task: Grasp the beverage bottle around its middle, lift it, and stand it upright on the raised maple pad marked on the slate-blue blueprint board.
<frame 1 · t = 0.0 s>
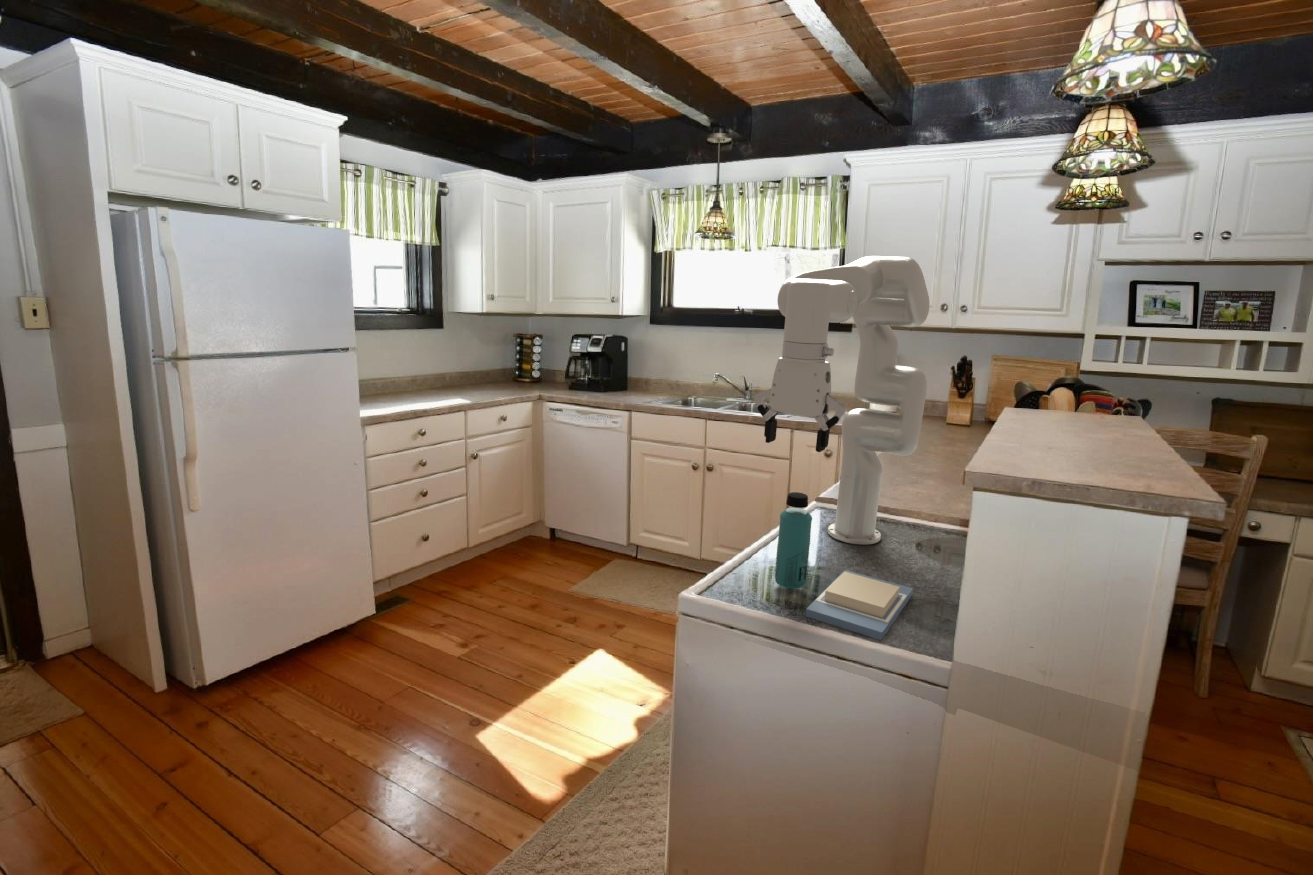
hand: (794, 445, 126), 31 cm above the table, tool pointing down, fingers open, 9 cm apart
blueprint board: (860, 605, 134), on the table
beverage bottle: (789, 589, 140), on the table
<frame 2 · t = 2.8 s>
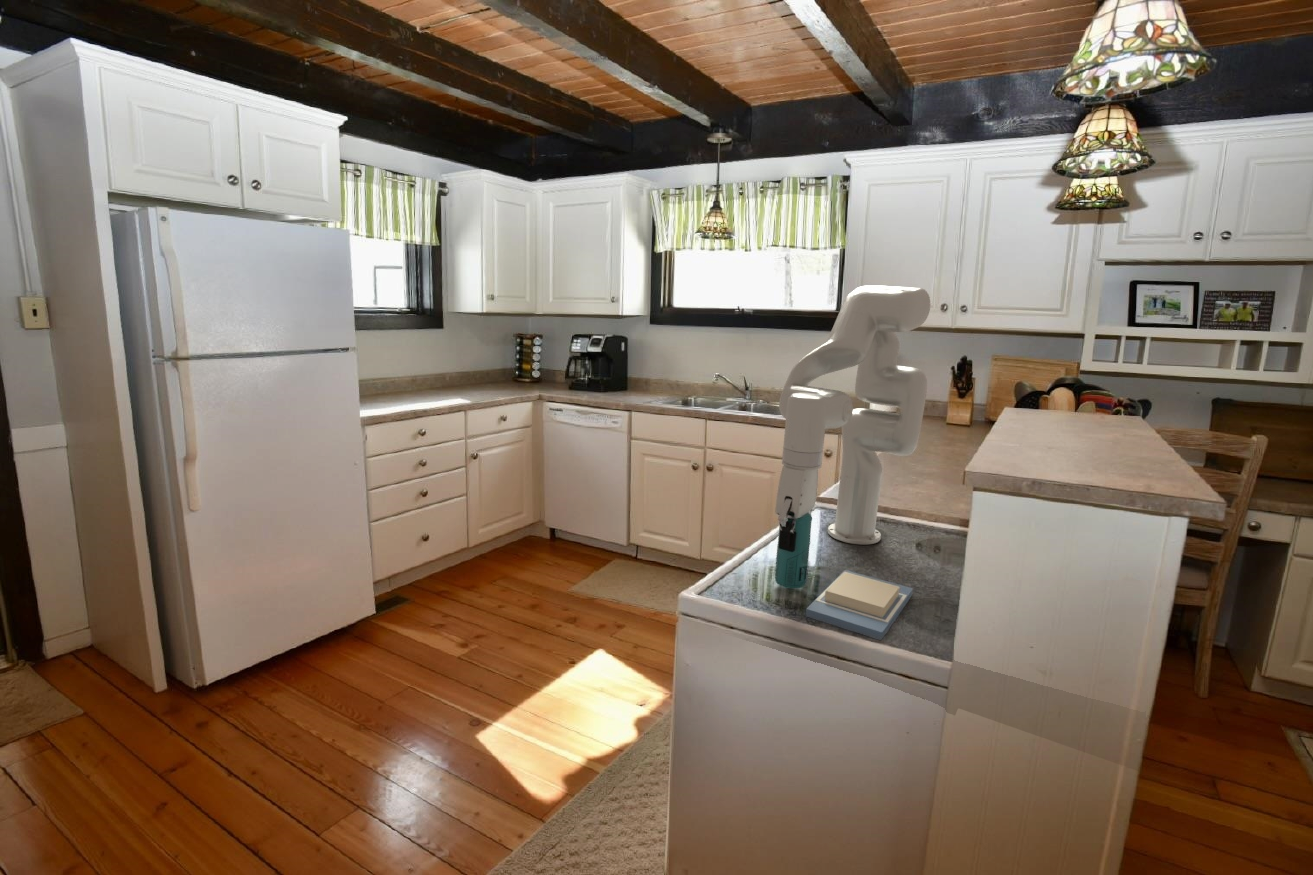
hand: (793, 543, 137), 10 cm above the table, tool pointing down, fingers closed on beverage bottle, 6 cm apart
beverage bottle: (789, 589, 140), on the table, touching gripper
when the fingers open (14 cm above the table, at t = 8.8 s): beverage bottle drops 1 cm, resting on blueprint board.
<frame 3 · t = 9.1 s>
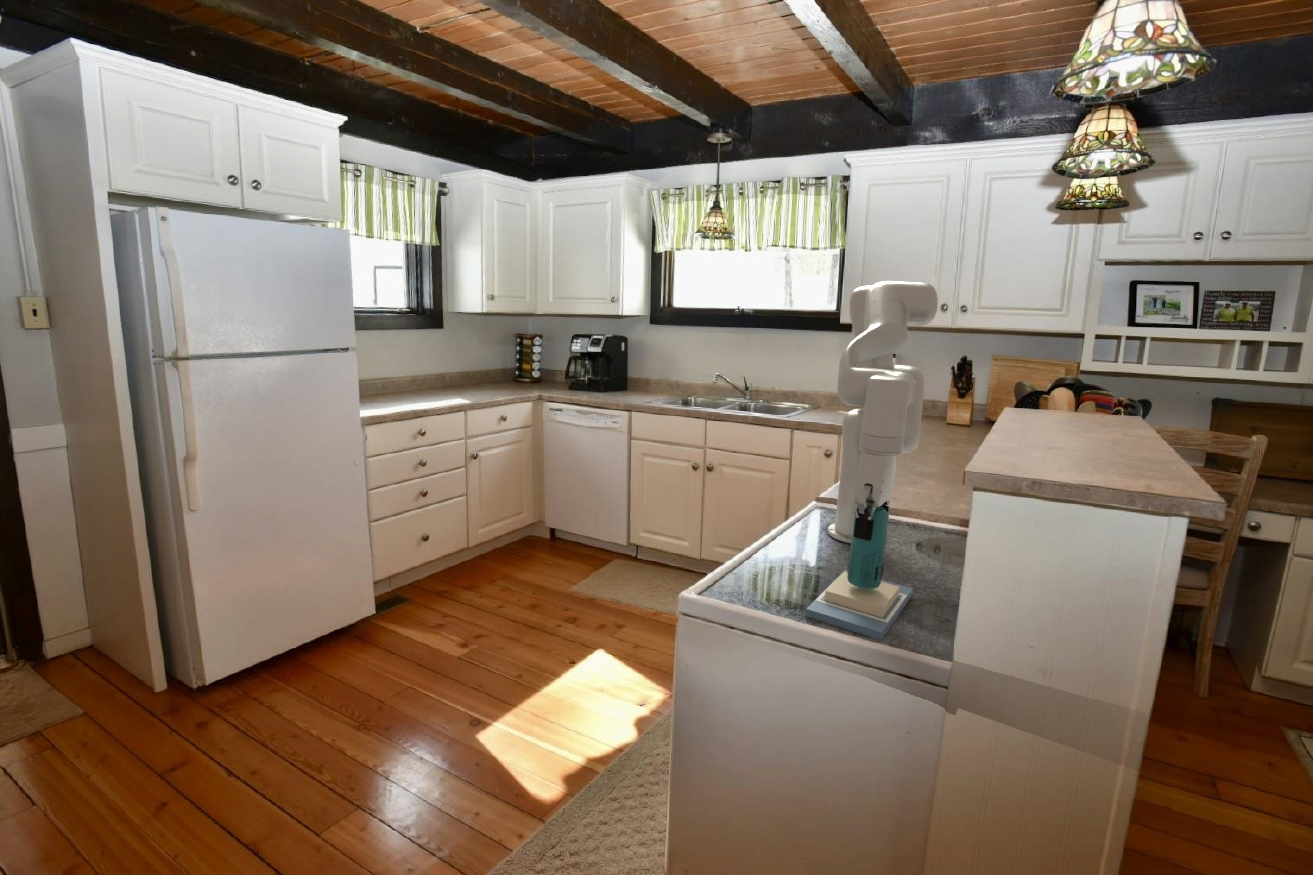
hand: (870, 531, 130), 15 cm above the table, tool pointing down, fingers open, 9 cm apart
beverage bottle: (862, 589, 133), point 3 cm above the table, touching blueprint board
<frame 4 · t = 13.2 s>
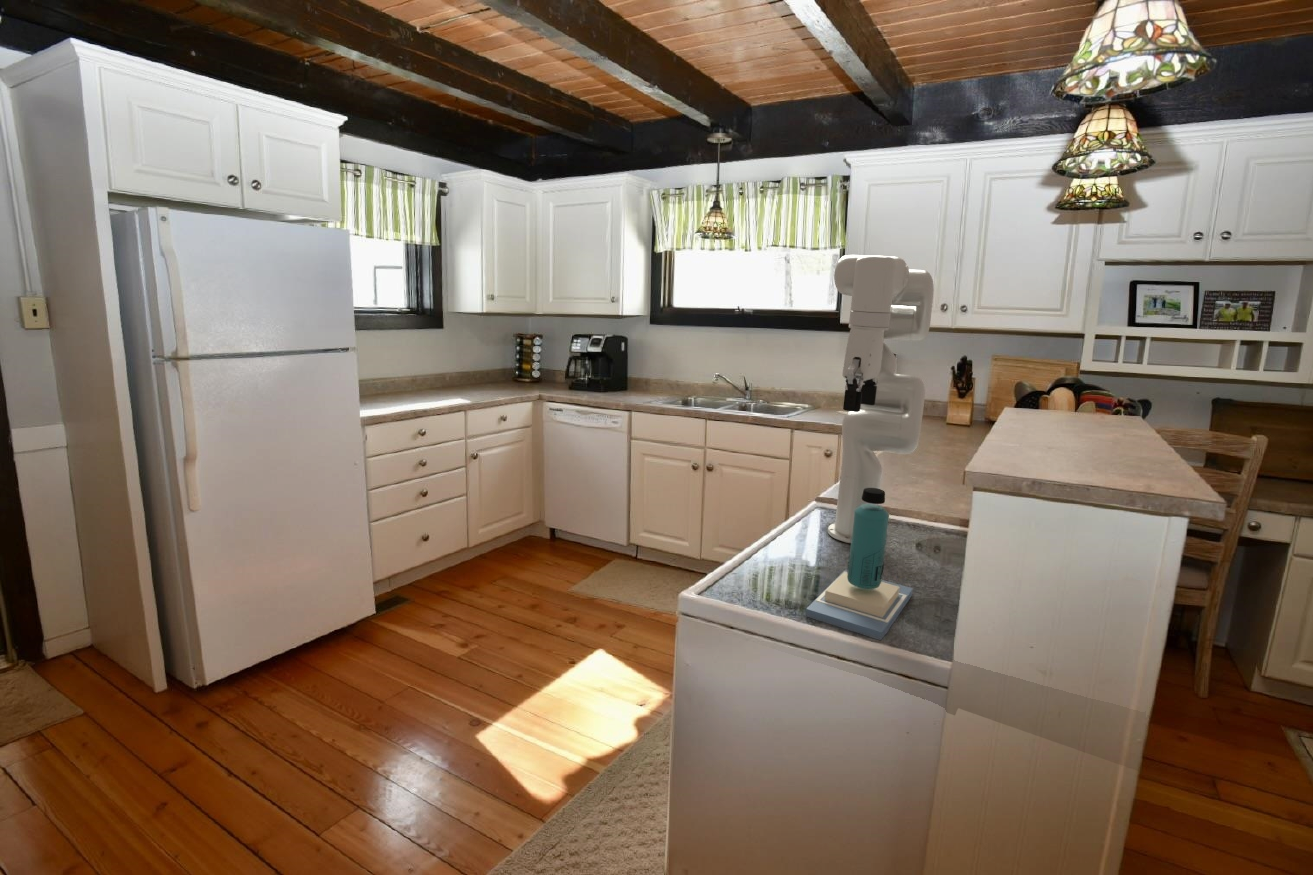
hand: (859, 407, 139), 36 cm above the table, tool pointing down, fingers open, 9 cm apart
nothing on the table moved.
at the end: beverage bottle inside the target area on the blueprint board (0.2 cm from its centre), point 3.3 cm above the blueprint board's base; beverage bottle tilted 0°; the gripper is holding nothing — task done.
